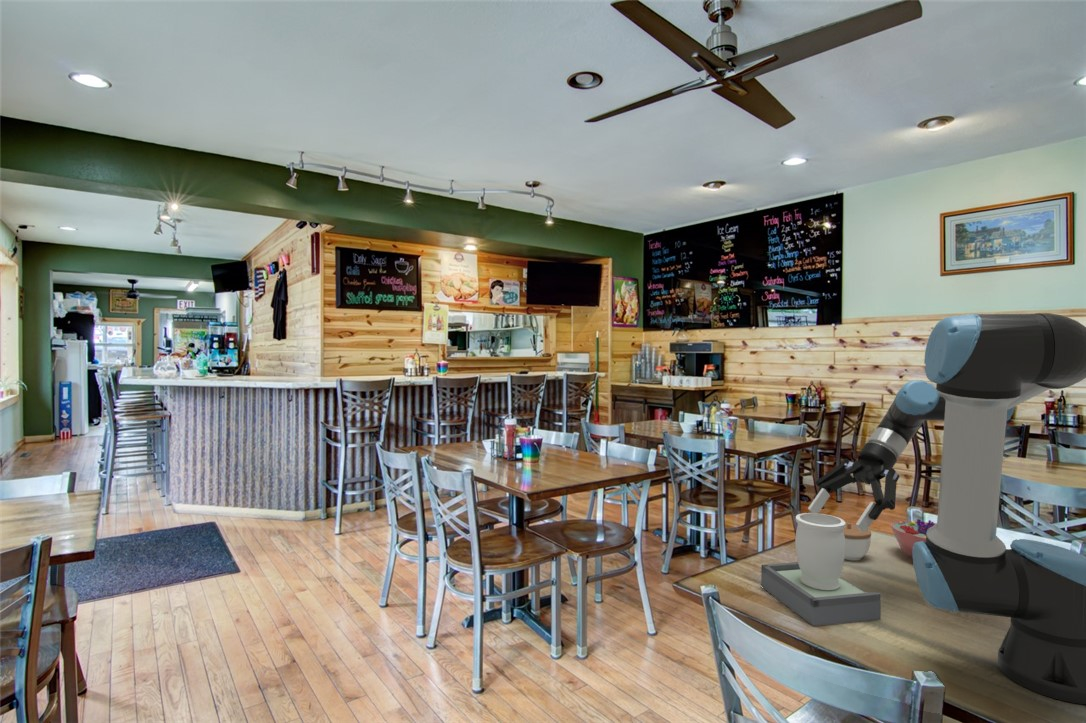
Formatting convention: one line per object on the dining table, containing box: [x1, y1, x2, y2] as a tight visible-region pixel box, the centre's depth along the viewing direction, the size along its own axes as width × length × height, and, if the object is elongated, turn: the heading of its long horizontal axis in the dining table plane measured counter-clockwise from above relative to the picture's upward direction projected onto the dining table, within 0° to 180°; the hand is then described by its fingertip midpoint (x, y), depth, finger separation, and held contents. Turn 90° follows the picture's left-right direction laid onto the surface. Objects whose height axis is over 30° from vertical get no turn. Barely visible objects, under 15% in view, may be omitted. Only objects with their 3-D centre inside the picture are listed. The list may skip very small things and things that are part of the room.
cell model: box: [890, 518, 937, 558], centre depth 156 cm, size 17×20×11 cm
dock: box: [760, 561, 882, 627], centre depth 132 cm, size 20×16×6 cm
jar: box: [794, 512, 846, 590], centre depth 131 cm, size 11×10×15 cm
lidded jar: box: [843, 522, 872, 561], centre depth 160 cm, size 11×11×9 cm
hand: (834, 520), depth 134 cm, fingers open, 13 cm apart
